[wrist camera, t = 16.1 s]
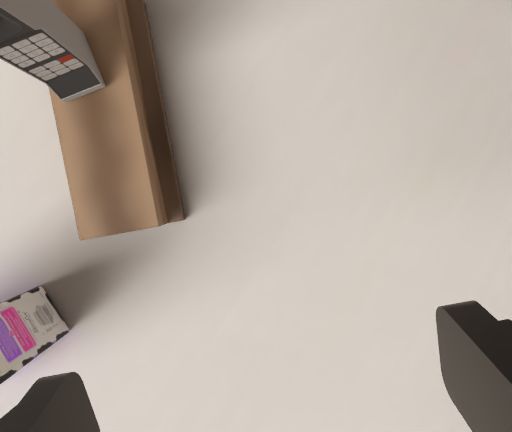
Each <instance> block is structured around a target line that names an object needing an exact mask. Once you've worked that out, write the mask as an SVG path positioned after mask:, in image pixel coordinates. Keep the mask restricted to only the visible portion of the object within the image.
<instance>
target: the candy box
mask: <svg viewBox="0 0 512 432" xmlns="http://www.w3.org/2000/svg"><path fill="white" fill-rule="evenodd" d="M69 331H70V330H69V328H68V327H67V325H66V324H65V322H64V320H63V319H62V317H61V316H60V314H59V313H58V311H57V310H56V308H55V306H54V305H53V303H52V301H51V299H50V298H49V296H48V295H47V293H46V292H45V290H44V289H43V288H42V287H41V286H38V287H36V288H34V289H32V290H30V291H27V292H25V293H23V294H21V295H19V296H16V297H14V298H12V299H10V300H7V301H5V302H3V303H1V304H0V384H1V383H3V382H4V381H5V380H6V379H8V378H9V377H11V376H12V375H13V374H14V373H16V372H17V371H18V370H20V369H21V368H22V367H23V366H25V365H26V364H27V363H29V362H30V361H31V360H33V359H34V358H35V357H37V356H38V355H39V354H41V353H42V352H43V351H45V350H46V349H47V348H48V347H50V346H51V345H53V344H54V343H55V342H56V341H58V340H59V339H60V338H62V337H63V336H64V335H65V334H67V333H68V332H69Z"/></svg>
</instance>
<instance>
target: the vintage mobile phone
mask: <svg viewBox="0 0 512 432" xmlns="http://www.w3.org/2000/svg"><path fill="white" fill-rule="evenodd" d="M0 59H2V60H4V61H5V62H7V63H9V64H11V65H13V66H15V67H16V68H18V69H20V70H22V71H24V72H26V73H27V74H29V75H31V76H33V77H35V78H37V79H38V80H40V81H42V82H44V83H46V84H47V86H48V87H49V88H50V89H51V90H52V91H53V92H54V93H55V94H56V95H57V96H58V97H59V98H60V99H61V100H62V101H64V102H69V101H71V100H74V99H76V98H79V97H81V96H84V95H86V94H89V93H91V92H94V91H96V90H99V89H101V88H104V87H105V83H104V81H103V78H102V76H101V73H100V71H99V69H98V66H97V64H96V61H95V59H94V57H93V54H92V52H91V49H90V47H89V44H88V42H87V40H86V37H85V35H84V32H83V31H82V30H81V29H80V28H79V27H78V26H77V25H76V24H75V23H74V22H73V21H72V20H71V19H70V18H69V17H68V16H67V15H66V14H64V13H63V12H62V11H61V10H60V9H59V8H58V7H57V6H56V5H55V4H54V3H53V2H52V1H51V0H0Z"/></svg>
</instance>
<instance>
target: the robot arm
mask: <svg viewBox="0 0 512 432" xmlns="http://www.w3.org/2000/svg"><path fill="white" fill-rule="evenodd" d="M436 323H437V333H438V343H439V353H440V363H441V371H442V376H443V380H444V383H445V386H446V389H447V391H448V394H449V396H450V398H451V399H452V401H453V403H454V404H455V406H456V407H457V409H458V410H459V412H460V413H461V415H462V416H463V418H464V419H465V421H466V422H467V424H468V426H469V427H470V429H471V430H472V432H512V321H511V320H509V319H506V320H501V321H498V320H497V319H496V318H494V317H493V316H492V315H491V314H490V313H489V312H488V311H487V310H486V309H485V308H483V307H482V306H481V305H480V304H479V303H478V302H476V301H468V302H462V303H457V304H451V305H445V306H440V307H438V308H437V310H436ZM0 432H100V428H99V425H98V422H97V420H96V417H95V414H94V411H93V409H92V406H91V403H90V400H89V398H88V395H87V392H86V389H85V387H84V384H83V381H82V379H81V377H80V376H79V374H77V373H76V372H70V373H64V374H59V375H53V376H48V377H42V378H39V379H38V380H37V381H36V382H35V383H34V384H33V386H32V387H31V388H30V389H29V391H28V392H27V393H26V395H25V396H24V397H23V398H22V400H21V401H20V402H19V404H18V405H17V406H15V407H14V408H13V409H12V410H10V411H9V412H8V413H7V414H6V415H4V416H3V417H2V418H1V419H0Z"/></svg>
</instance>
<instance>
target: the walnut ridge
mask: <svg viewBox="0 0 512 432" xmlns="http://www.w3.org/2000/svg"><path fill="white" fill-rule="evenodd" d="M51 1H52V2H53V3H54V4H55V5H56V6H57V7H58V8H59V9H60V10H61V11H62V12H63V13H64V14H66V15H67V16H68V17H69V18H70V19H71V20H72V21H73V22H74V23H75V24H76V25H77V26H78V27H79V28H80V29H81V30H82V31H83V32H84V35H85V37H86V40H87V42H88V44H89V47H90V49H91V52H92V54H93V57H94V59H95V61H96V64H97V66H98V69H99V71H100V73H101V76H102V78H103V81H104V83H105V87H104V88H101V89H99V90H96V91H94V92H91V93H89V94H86V95H84V96H81V97H79V98H76V99H74V100H71V101H69V102H64V101H62V100H61V99H60V98H59V97H58V96H57V95H56V94H55V93H54V92H53V91H52V90H51V89H50V88H49V90H50V95H51V100H52V105H53V110H54V115H55V120H56V125H57V130H58V135H59V140H60V145H61V150H62V155H63V160H64V164H65V169H66V174H67V179H68V184H69V189H70V194H71V199H72V204H73V209H74V214H75V219H76V224H77V229H78V234H79V238H80V240H85V239H91V238H97V237H102V236H108V235H113V234H119V233H124V232H130V231H136V230H141V229H147V228H152V227H158V226H161V225H164V224H166V223H170V222H176V221H182V220H185V215H184V210H183V204H182V199H181V194H180V189H179V183H178V178H177V173H176V167H175V162H174V157H173V151H172V146H171V141H170V135H169V130H168V125H167V119H166V114H165V109H164V104H163V98H162V93H161V88H160V82H159V77H158V72H157V66H156V61H155V56H154V50H153V45H152V40H151V34H150V29H149V24H148V19H147V13H146V8H145V3H144V0H51Z"/></svg>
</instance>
